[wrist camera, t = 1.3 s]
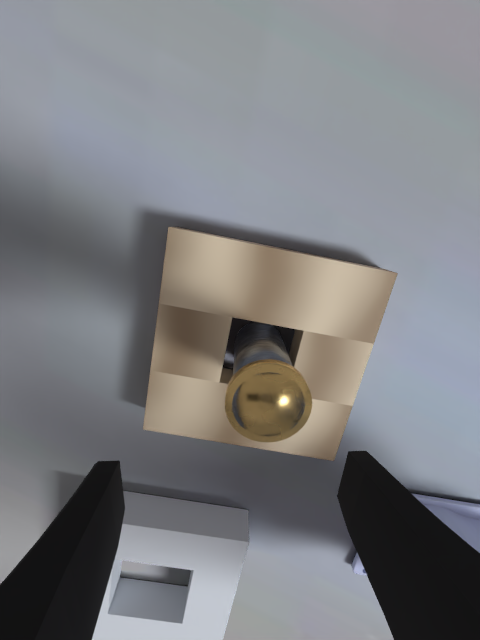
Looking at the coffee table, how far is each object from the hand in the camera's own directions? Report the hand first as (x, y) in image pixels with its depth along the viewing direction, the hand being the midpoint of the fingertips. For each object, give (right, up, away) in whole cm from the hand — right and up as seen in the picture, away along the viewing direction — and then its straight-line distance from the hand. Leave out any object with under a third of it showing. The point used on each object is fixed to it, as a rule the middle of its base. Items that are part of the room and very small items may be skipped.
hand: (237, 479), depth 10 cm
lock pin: (+1, +4, +10) cm, 10 cm away
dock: (-6, -14, +15) cm, 21 cm away
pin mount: (+1, +3, +10) cm, 10 cm away
